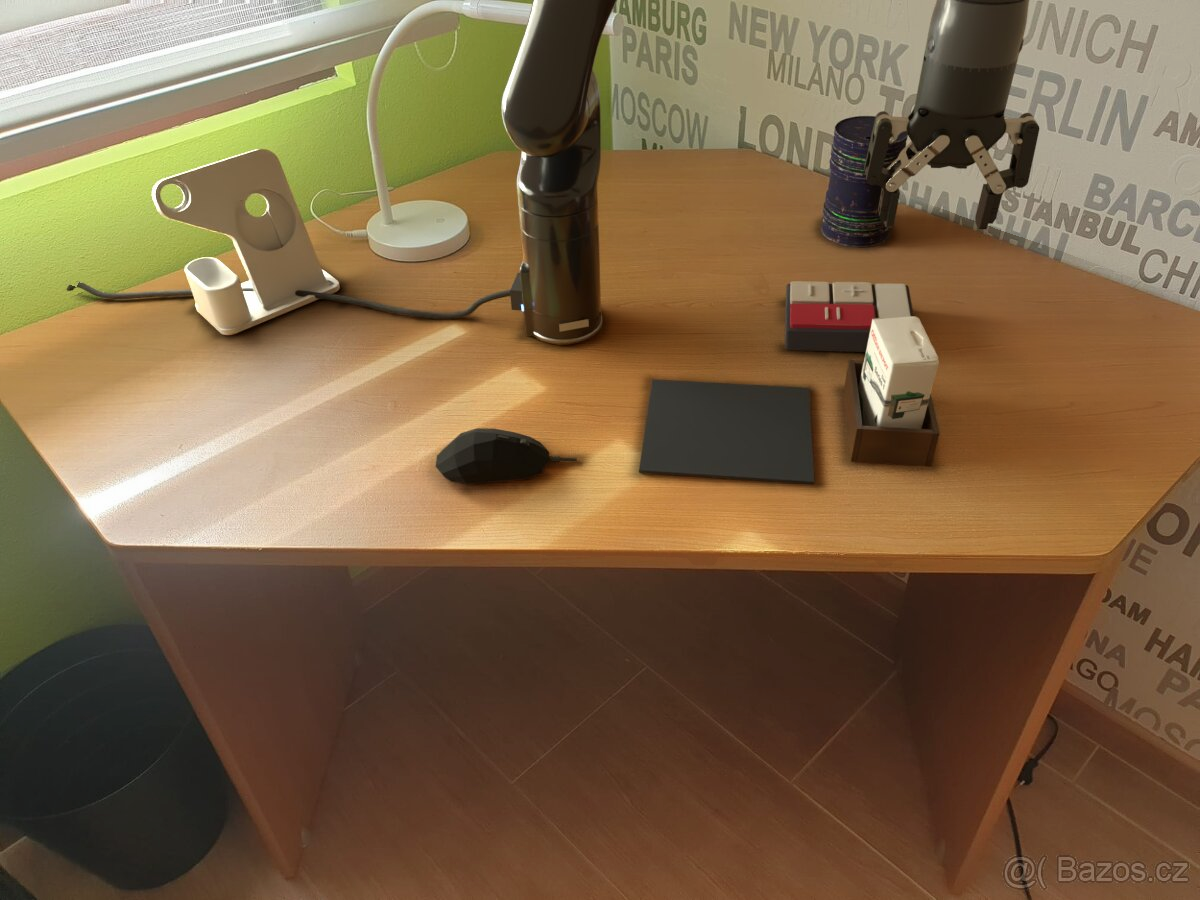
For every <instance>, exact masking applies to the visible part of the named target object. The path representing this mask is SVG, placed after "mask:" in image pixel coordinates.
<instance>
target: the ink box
mask: <svg viewBox="0 0 1200 900" xmlns="http://www.w3.org/2000/svg"><path fill="white" fill-rule="evenodd" d="M863 360H864V363H863V368H862V373H861V378H860V382H859V387H858V394H859V403H860V411H861V419H862V426H876V427H893V428H910V429H922V425H923V421H924V417H925V413H926V410H927V406H928V402H929V398H930V394H931V395H932V389H933V386H934V383H935V379H936V375H937V371H938V368H939V365H940V360H939V356H938V354H937V352H936V349H935V347H934V346H933V344H932V342H931V339H930V337H929V336H928V334H927V332H926V330H925V327H924V325H923V323H922V321H921V319H920V318H919V317H918V316H910V317H890V318H876V319H872V324H871V329H870V334H869V339H868V344H867V349H866V352H865V354H864V359H863Z"/></svg>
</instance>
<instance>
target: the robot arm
mask: <svg viewBox="0 0 1200 900" xmlns="http://www.w3.org/2000/svg"><path fill="white" fill-rule="evenodd" d="M617 1H618V0H532V4H531V8H530V12H529V17H528V19H527V24H526V26H525V30H524V33H523V36H522V40H521V43H520V46H519V49H518V51H517V54H516V58H515V61H514V63H513V66H512V70H511V72H510V74H509V77H508V79H507V82H506V85H505V88H504V91H503V93H502V98H501V116H502V117H501V118H502V122H503V126H504V128H505V131H506V133H507V135H508V137H509V140H511V142H512V143H513V144H514V146H515V147H516V148H517V149H519V150H520V151H521V153H520V154H521V155H520V162H519V168H518V171H517V176H516V196H517V205H518V216H519V226H520V227H519V228H520V238H521V249H522V251H521V252H522V261H521V264H520V267H519V272H517V273H516V275H515V278H514V280H513V282H512V284H511V286H510V288H509V289H505V290H502V291H497V292H494V293H490V294H487V295H484V296H482V297H480V298H478V299H477V300H475V301H474V302H473V303H472V304H471V305H470V306H469V307H468V308H466V309H463V310H460V311H455V312H433V311H432V312H431V311H425V310H417V309H410V308H403V307H402V308H401V307H396V306H392V305H387V304H383V303H379V302H376V301H371V300H368V299H367V300H366V299H362V298H361V299H360V298H355V297H350V296H345V295H340V294H334V293H332V294H327V293H319V292H311V291H302V290H297V291H296V292H295V295H297V296H302V297H305V296H308V295H313V296H315V298H319V299H318V300H327V301H334V302H340V303H345V304H350V305H356V306H362V307H367V308H371V309H375V310H378V311H383V312H387V313H391V314H396V315H400V316H401V315H402V316H408V317H416V318H425V319H432V320H433V319H434V320H456V319H460V318H465V317H467V316H469V315H471V314H473V313H474V312H475V311H476V310H477V309H478V308H479V307H481V306H482V305H484V304H486V303H489V302H492V301H494V300H499V299H502V298H507V297H510V307H511V311H519V312H523V321H524V332H525V336H527V337H533V338H536V339H537V340H539V341H542V342H544V343H547V344H553V345H573V344H578V343H582V342H585V341H587V340H590V339H592V338H593V337H595V336H596V335H597V334H599V332H600V331H601V329H602V327H603V315H602V313H603V312H602V310H603V309H602V290H601V289H602V288H601V258H600V255H601V254H600V228H599V227H600V225H599V198H598V197H599V195H598V194H599V193H598V183H599V182H598V181H599V175H600V169H601V161H602V160H601V159H602V146H601V145H602V141H601V140H602V139H601V138H602V131H601V130H602V123H601V122H602V115H601V112H602V111H601V110H602V109H601V93H600V85H599V81H598V78H597V76H596V73H595V71H594V65H595V60H596V56H597V54H598V53H597V52H598V50H599V46H600V42H601V38H602V36H603V33H604V31H605V28H606V25H607V23H608V21H609V18H610V16H611V15H612V12H613V11H614V8H615V6H616V4H617ZM1029 4H1030V0H936V1H935V4H934V5H935V6H934V8H933V11H932V14H931V17H930V22H929V27H928V33H927V37H926V43H925V48H924V52H923V53H924V54H923V59H922V65H921V69H920V74H919V82H918V85H917V92H916V97H915V103H914V106H913V109H912V111H911V112H910V114H909V115H908V116H907V117H905V116H892V115H889V113H888V112H887V111H879V112H877V114H876V115H875V116H876V117H875V121H874V126H873V130H872V135H871V139H870V144H869V148H868V153H867V157H866V161H865V166H864V171H865V174H866V180H867V183H868V184H870V185H878V186H880V187H882V190H881V195H880V201H879V207H878V212H879V216H880V220H881V221H884V224H885V227H890V229H891V228H893V229H894V227H895V221H896V217H897V211H898V206H899V201H900V196H901V192H900V187H901V186H903V184H904V183H906V182H907V181H908V180H909V178H911V177H914V176H916V175H917V174H918V173H919V172H920V171H921V170H922V169H923V168H924V167H926V166H930V168H931V169H942V168H947V167H951V168H954V169H962V170H963V169H965V170H966V169H967V168H968V167H969V166H972V165H974V164H976V166H977V167H978V169H979V171H980V173H981V174H982V176H983V178H984V179H985V182H986V183H983V184H982V188H981V193H980V196H979V200H978V204H977V208H976V212H975V216H974V223H975V225H976V228H977V229H978V230H984V231H985V230H987V229H988V226H989V225H991V224H994V223H995V221H996V219H997V218H998V212H999V209H1000V205H1001V201H1002V198H1003V194H1004V193H1005V192H1006V191H1007V190H1009V189H1012V188H1015V187H1016V188H1017V189H1023V188H1024V187H1026V186H1027V185H1028V183H1029V182H1030V181H1029V180H1030V175H1031V171H1032V168H1033V167H1032V166H1033V162H1034V157H1035V153H1036V147H1037V143H1038V137H1039V134H1040V133H1039V132H1040V126H1039V124H1038V122H1037V120H1036V119H1035V118H1034V116H1033V114H1032V113H1030V112H1024V113H1022V114H1021V115H1020V116H1019V117H1016V118H1005V112H1006V108H1007V104H1008V100H1009V96H1010V93H1011V89H1012V84H1013V80H1014V76H1015V72H1016V69H1017V64H1018V60H1019V56H1020V53H1021V52H1022V50H1023V46H1024V41H1025V40H1024V36H1025V32H1026V28H1027V23H1028V15H1029V14H1028V13H1029ZM904 131H907V134H908V138H909V140H910V142H909V143H908V144H906V147H905V148H904V149H903V150H902V151H901V152H900V154H899V156H898V158H897V159H896V160H895V161H894V162H893V163H892V164H891V165H890V166H889V167H888V168H887V169H886V168H883V165H884V161H885V157H886V152H887V148H888V144H889V143H892V142H894V141H895V140H896V139H897V137H898V135H899V134H900V133H902V132H904ZM1005 134H1008V139H1009V140H1010V142H1011V144H1013V148H1012V152H1011V157H1010V161H1009V165H1008V166H1009V167H1008V168H1007V169H1003V170H999V168H998V167H997V165H996V163H995V161H994V160H993V158H992V156H991V155H990V152H989V150H991V148H992V147H993V146H994V145H995V144H997V142H999V141H1000V139H1002V138H1003V137H1004V135H1005ZM78 282H79V283H78V285H77V287H75V286H72V285H70V284H68V285H67V287H66V291H67V292H72V291H74V290H75V289H76V288H79V289H81V290H83V291H85V292H87V293H89V294H91V295H93V296H95V297H98V298H102V299H108V300H134V299H147V298H161V297H162V298H163V297H164V298H165V297H183V296H184V297H185V296H193V293H192V291H191V288H190V289H189V288H188V289H171V290H149V291H137V292H105V291H101V290H99V289H96V288H94V287H92V286H90V285H88V284H86V283H84V282H82V283H80V282H81V281H78ZM242 289H243V291H251V292H254V290H253V288H242Z"/></svg>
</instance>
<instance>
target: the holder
mask: <svg viewBox="0 0 1200 900" xmlns="http://www.w3.org/2000/svg"><path fill="white" fill-rule="evenodd" d="M863 363H864V359H863V360H861V359H849V360H848V363H847V367H846V375H845V380H844V384H843V391H842V392H843V393H842V394H843V401H844V410H845V412H844V413H845V420H846V429H847V439H848V448H849V449H848V450H849V459H850V462H851V463H856V462H857V463H866V464H883V465H899V466H901V465H902V466H915V467H932V465H933V461H934V457H935V453H936V450H937V446H938V442H939V438H940V434H941V432H940V428H939V423H938V419H937V413H936V410H935V405H934V400H933V395H932V393H931V394H930V398H929V402H928V406H927V410H926V413H925V417H924V421H923V425H922V429H910V428H893V427H876V426H862V419H861V411H860V403H859V394H858V387H859V382H860V378H861V373H862V368H863Z"/></svg>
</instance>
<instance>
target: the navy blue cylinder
mask: <svg viewBox="0 0 1200 900" xmlns="http://www.w3.org/2000/svg"><path fill="white" fill-rule="evenodd" d="M875 117H876V115H858V116H851V117H847V118H844V119H842V120H839V121H838V122H837V123H836V124H835V125H834V131H833V139H832V143H831V147H830V148H831V149H830V158H829V169H830V174H829V181H828V188H827V190H826V192H825V198H824V202H823V206H822V222H821V227H820V231H821V233H822V235H823V236H824V237H825V238H826V239H828V240H829V241H831V242H833V243H834V244H835V243H836V244H839V245H841V246H846V247H853V248H868V247H874V246H877V245H881V244H883V243H884V242H885V241H887V240H888V239H889V237H890V234H891V227H885V224H884V221H881V220H880V216H879V212H878V207H879V201H880V195H881V190H882V187H880V186H878V185H870V184H868V183H867V180H866V174H865V171H864V166H865V161H866V157H867V153H868V148H869V144H870V139H871V135H872V130H873V126H874V121H875ZM908 138H909V136H908V134H907V131H904V132H902V133H900V134H899V135H898V137H897V139H896V140H895V141H894V142H892V143H889V144H888V148H887V152H886V157H885V161H884V165H883V168H886V169H887V168H888V167H889V166H890V165H891V164H892V163H893V162H894V161H895V160H896V159H897V158H898V156H899V154H900V152H901V151H902V150H903V149H904V148H905V147H906V146H907V141H908Z"/></svg>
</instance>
